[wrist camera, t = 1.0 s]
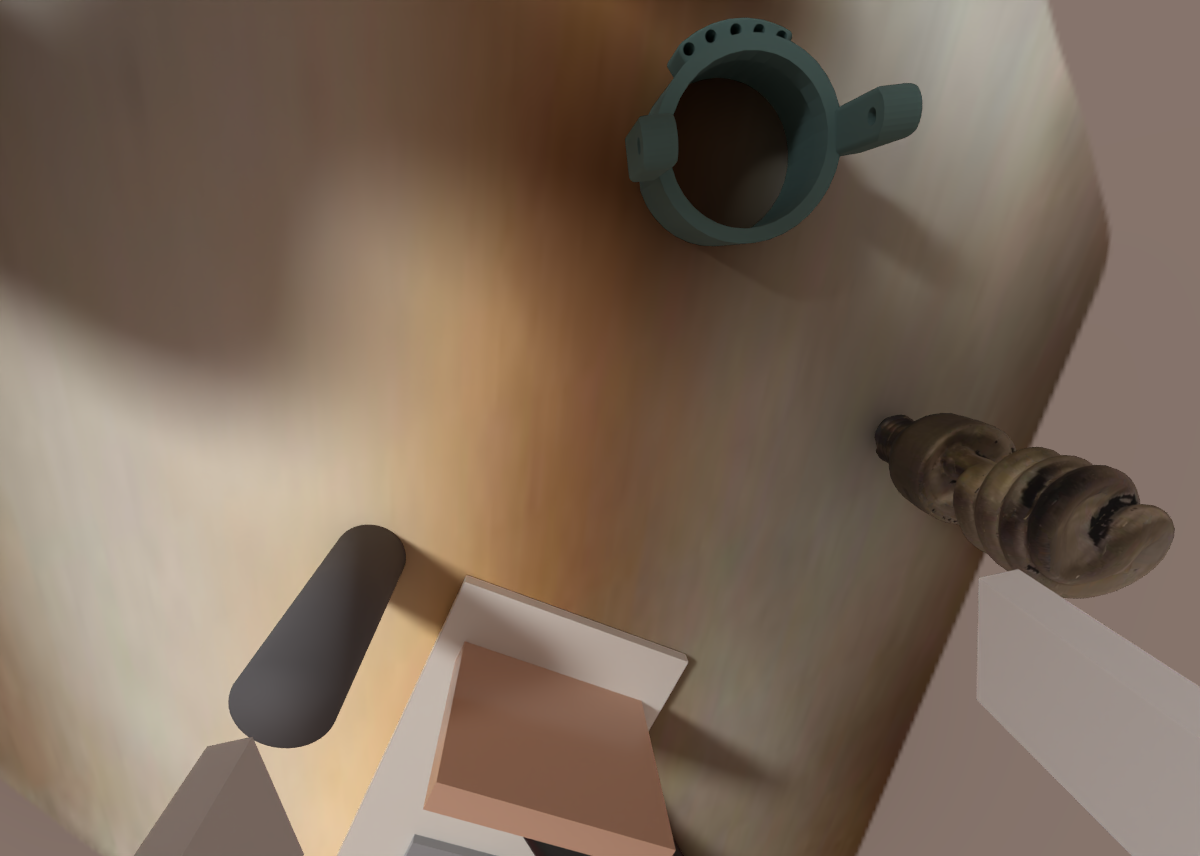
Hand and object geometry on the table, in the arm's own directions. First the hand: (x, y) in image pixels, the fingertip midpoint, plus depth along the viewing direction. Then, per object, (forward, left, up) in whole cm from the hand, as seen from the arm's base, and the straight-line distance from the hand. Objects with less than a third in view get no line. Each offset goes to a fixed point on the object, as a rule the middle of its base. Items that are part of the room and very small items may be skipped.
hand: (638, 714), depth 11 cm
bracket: (+1, +15, -24) cm, 28 cm away
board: (+6, -25, -23) cm, 35 cm away
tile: (+6, -16, -23) cm, 28 cm away
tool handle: (-7, -13, -23) cm, 27 cm away
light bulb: (+18, +6, -24) cm, 30 cm away
